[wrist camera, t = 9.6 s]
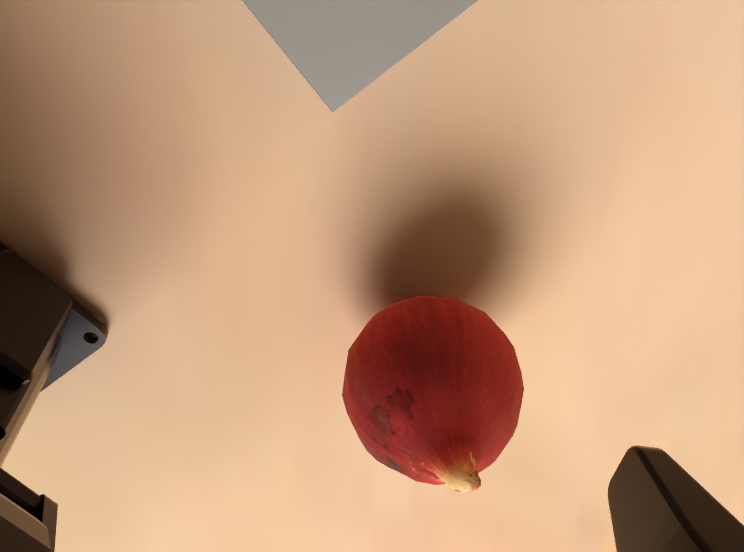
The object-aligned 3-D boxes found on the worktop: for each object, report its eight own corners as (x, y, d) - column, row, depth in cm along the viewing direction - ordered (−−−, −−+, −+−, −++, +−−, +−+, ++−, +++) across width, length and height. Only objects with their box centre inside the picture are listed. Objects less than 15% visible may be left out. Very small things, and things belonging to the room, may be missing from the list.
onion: (369, 395, 26) (388, 576, 20) (316, 284, 23) (318, 452, 17) (507, 351, 26) (577, 523, 19) (471, 231, 23) (538, 384, 16)
